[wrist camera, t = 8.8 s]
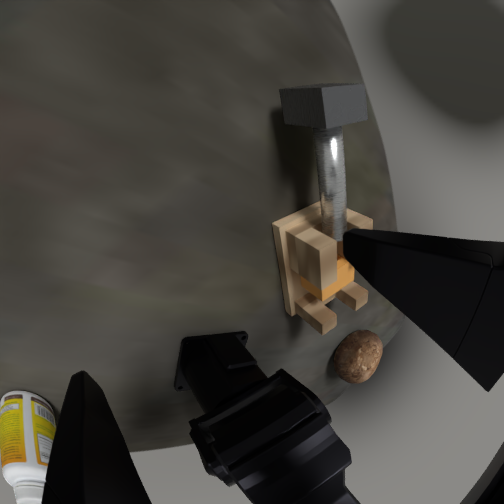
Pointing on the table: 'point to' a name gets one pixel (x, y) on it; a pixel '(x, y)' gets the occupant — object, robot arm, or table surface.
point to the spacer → (343, 278)
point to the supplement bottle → (26, 443)
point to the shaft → (327, 140)
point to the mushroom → (358, 356)
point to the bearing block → (314, 265)
